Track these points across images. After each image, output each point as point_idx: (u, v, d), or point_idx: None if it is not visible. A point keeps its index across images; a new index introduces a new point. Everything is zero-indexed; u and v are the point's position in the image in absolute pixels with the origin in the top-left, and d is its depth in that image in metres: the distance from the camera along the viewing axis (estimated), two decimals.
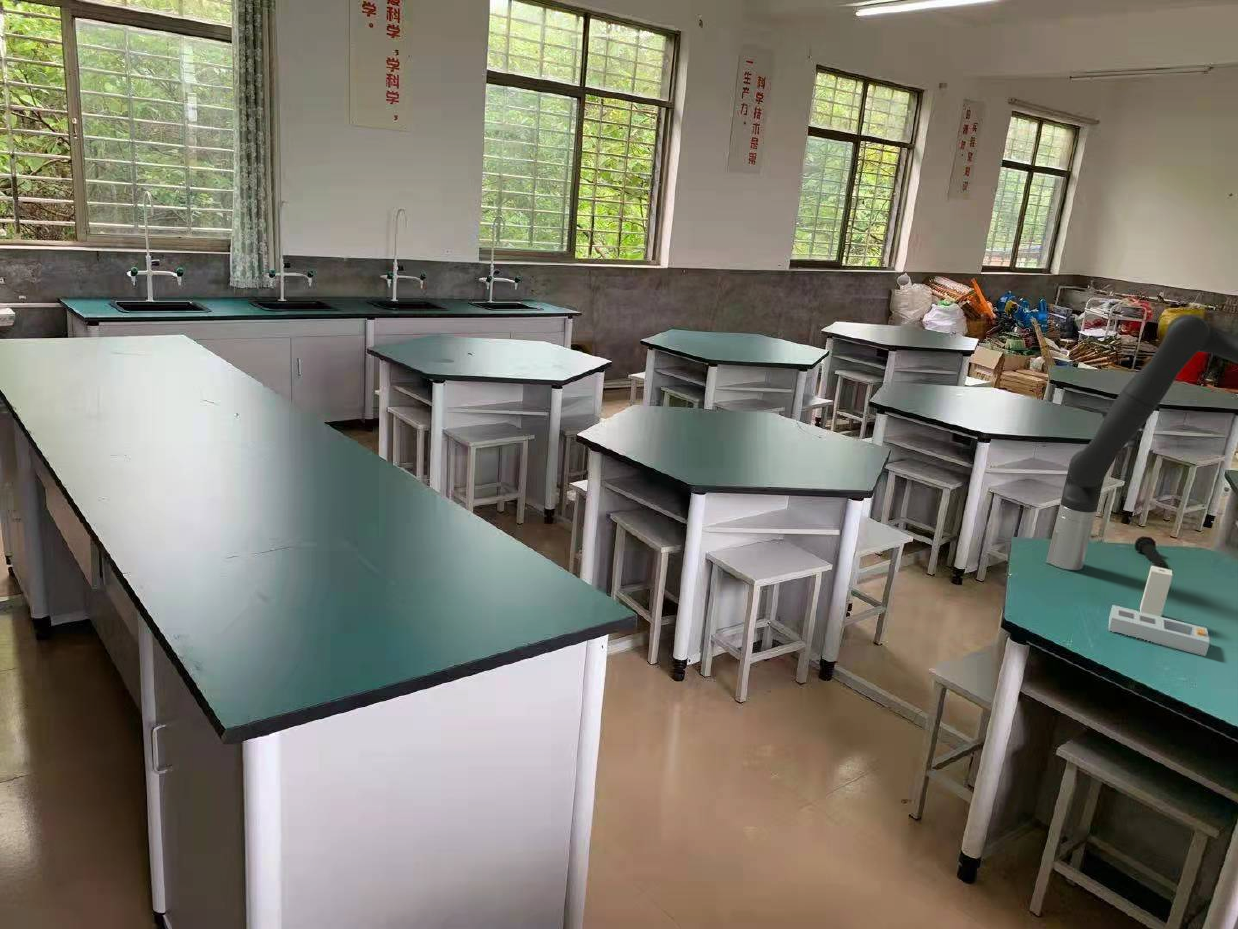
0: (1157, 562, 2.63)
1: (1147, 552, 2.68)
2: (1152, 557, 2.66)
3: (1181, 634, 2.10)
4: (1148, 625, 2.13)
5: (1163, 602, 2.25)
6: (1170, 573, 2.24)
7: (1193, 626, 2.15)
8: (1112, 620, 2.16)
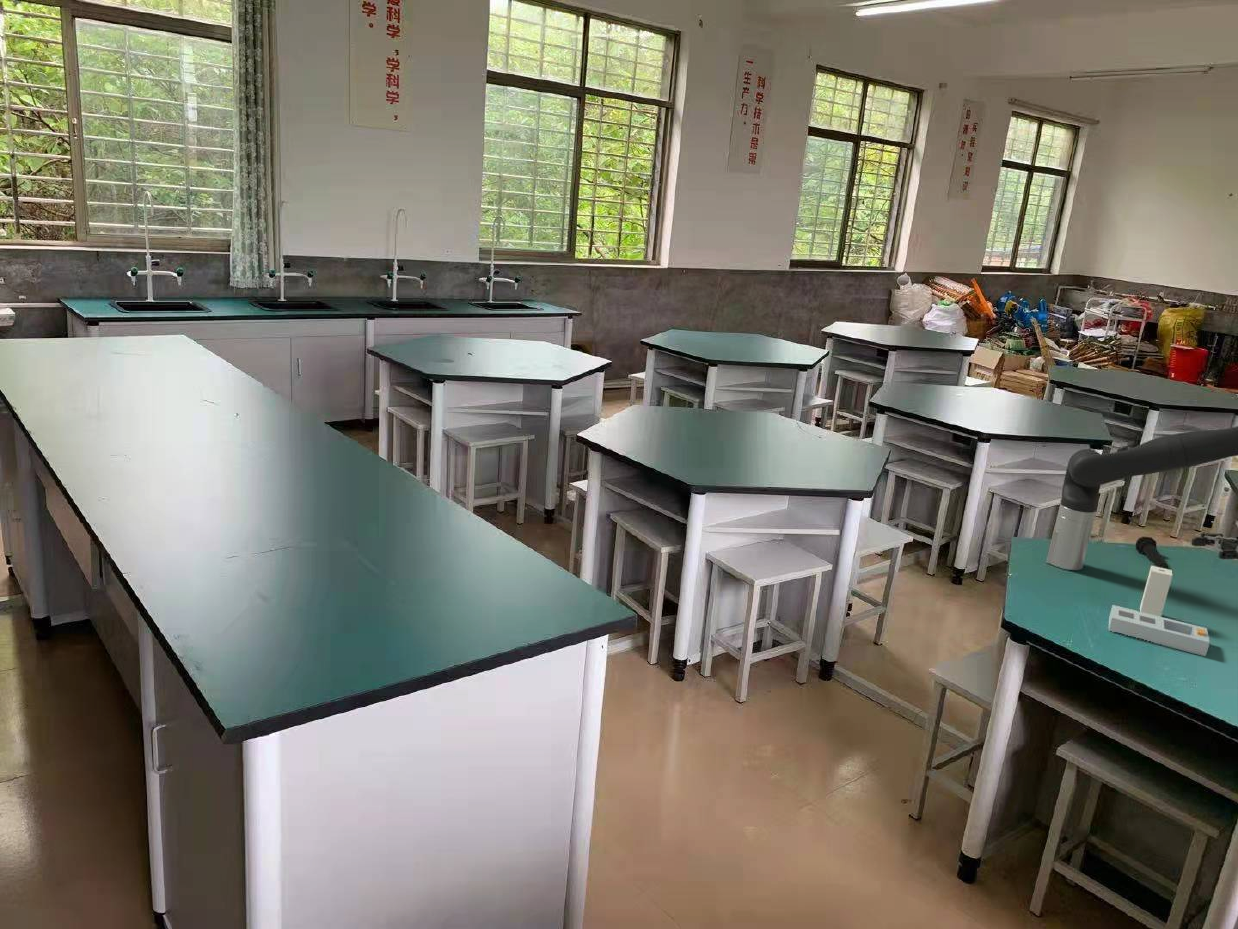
0: (1157, 562, 2.63)
1: (1148, 552, 2.68)
2: (1153, 557, 2.65)
3: (1181, 634, 2.10)
4: (1148, 625, 2.13)
5: (1163, 602, 2.25)
6: (1170, 573, 2.24)
7: (1193, 626, 2.15)
8: (1112, 620, 2.16)
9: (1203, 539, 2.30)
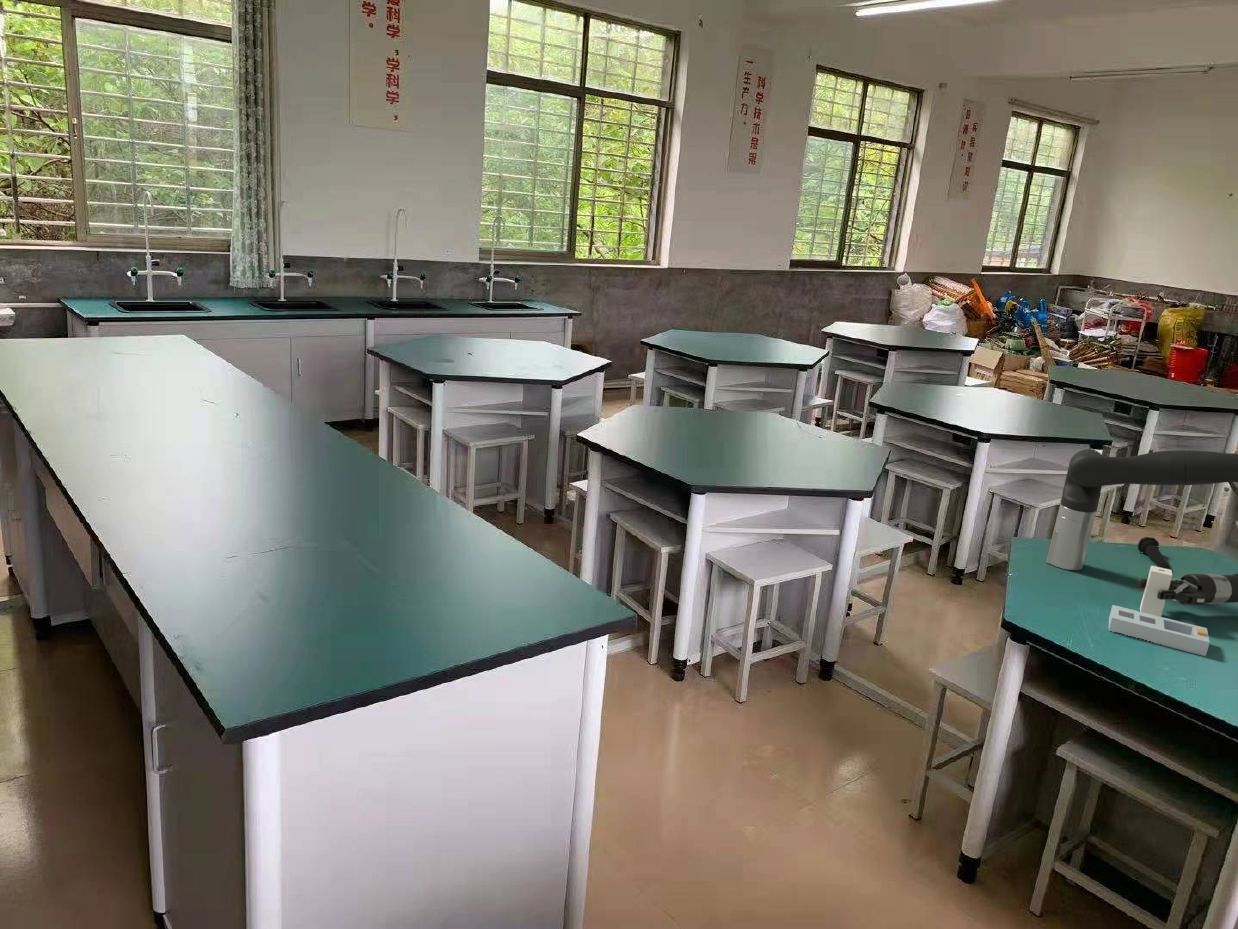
0: (1159, 563, 2.63)
1: (1149, 553, 2.68)
2: (1154, 558, 2.65)
3: (1181, 634, 2.10)
4: (1148, 625, 2.13)
5: (1163, 602, 2.25)
6: (1170, 573, 2.24)
7: (1193, 626, 2.15)
8: (1112, 620, 2.16)
9: None
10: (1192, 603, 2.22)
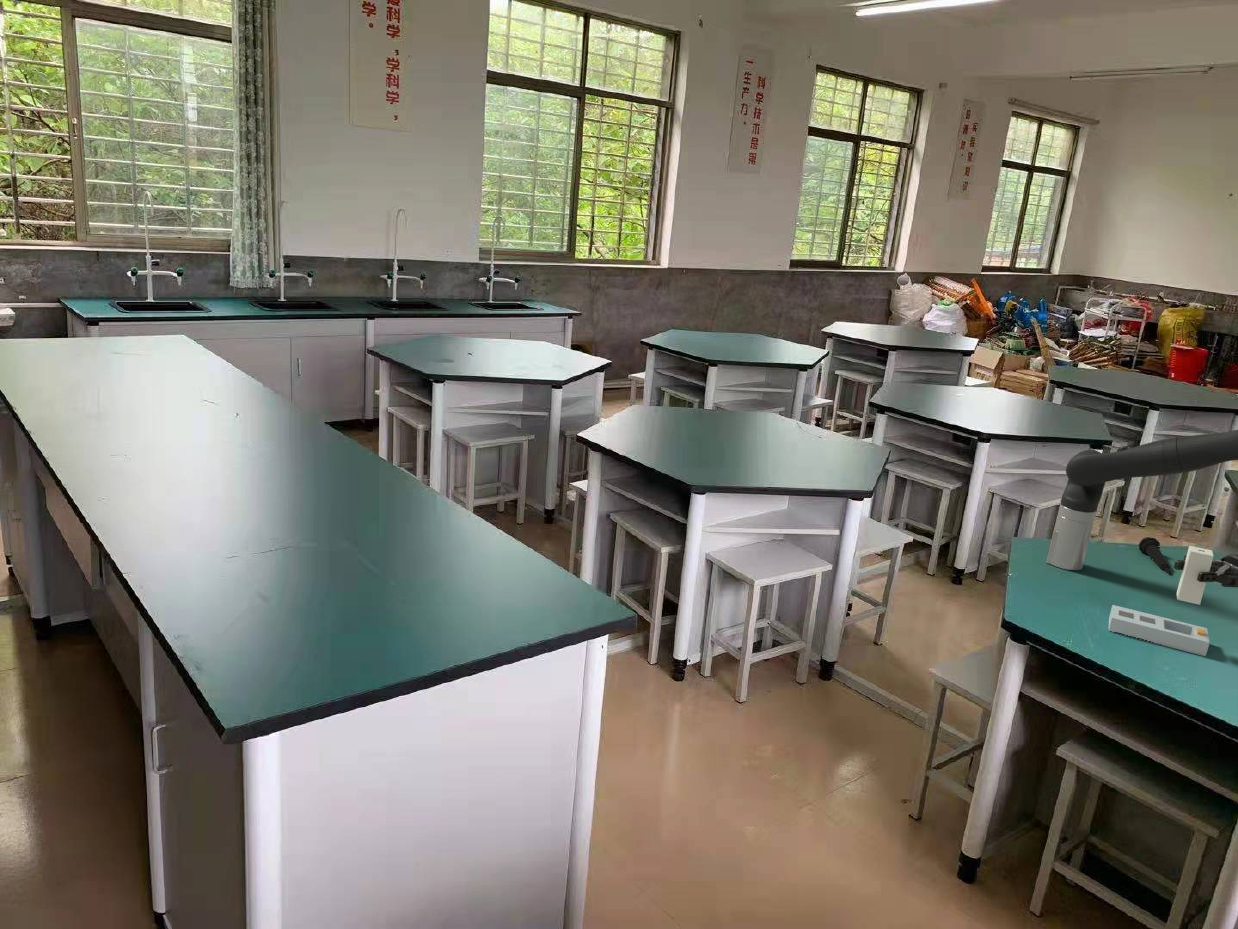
0: (1159, 563, 2.62)
1: (1150, 553, 2.68)
2: (1155, 558, 2.65)
3: (1181, 634, 2.10)
4: (1148, 625, 2.13)
5: (1203, 585, 2.08)
6: (1211, 553, 2.07)
7: (1193, 626, 2.15)
8: (1112, 620, 2.16)
9: None
10: (1235, 586, 2.05)
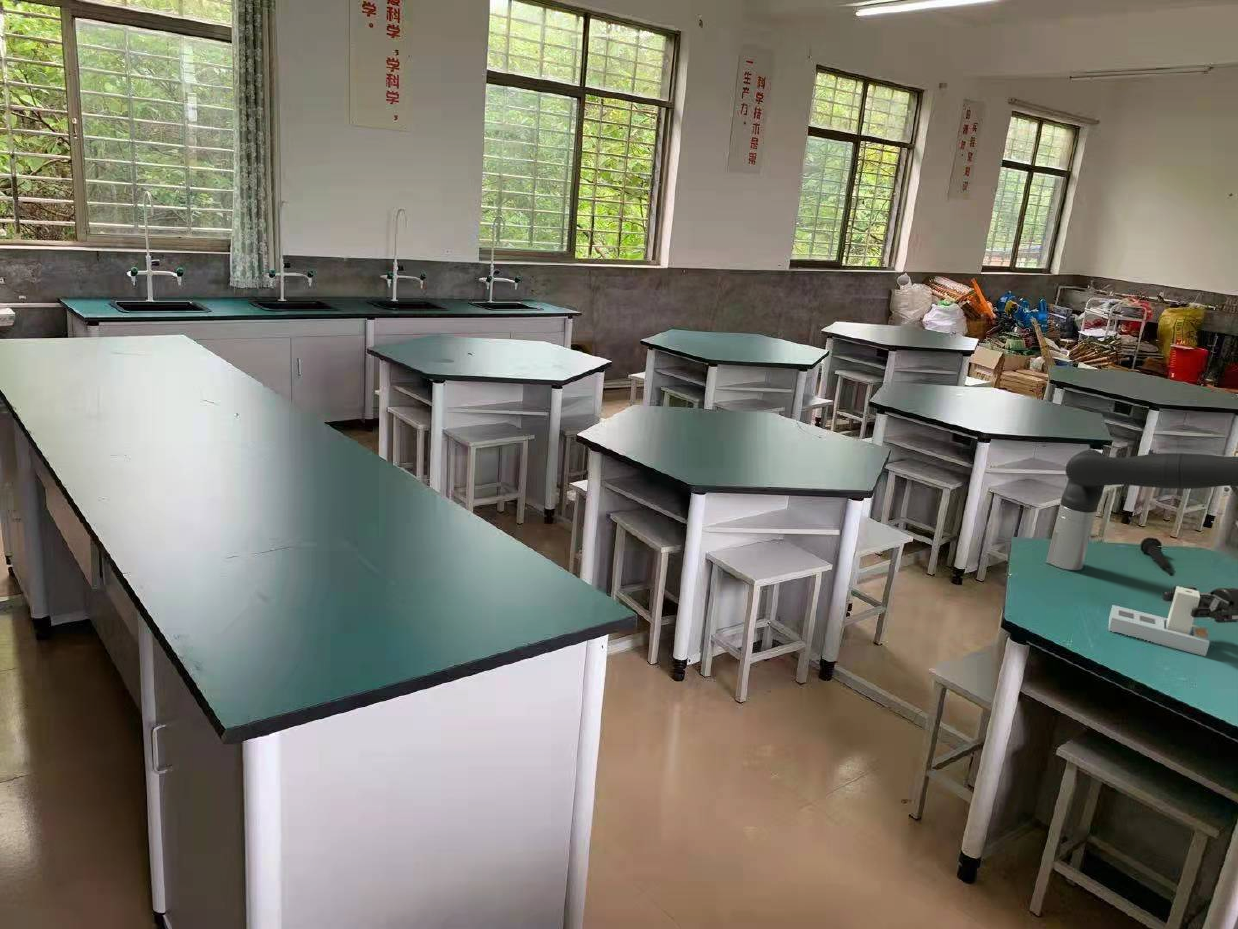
0: (1160, 563, 2.62)
1: (1152, 553, 2.68)
2: (1156, 558, 2.65)
3: (1181, 634, 2.10)
4: (1148, 625, 2.13)
5: (1190, 625, 2.11)
6: (1198, 595, 2.10)
7: (1193, 626, 2.15)
8: (1112, 620, 2.16)
9: None
10: (1228, 621, 2.07)
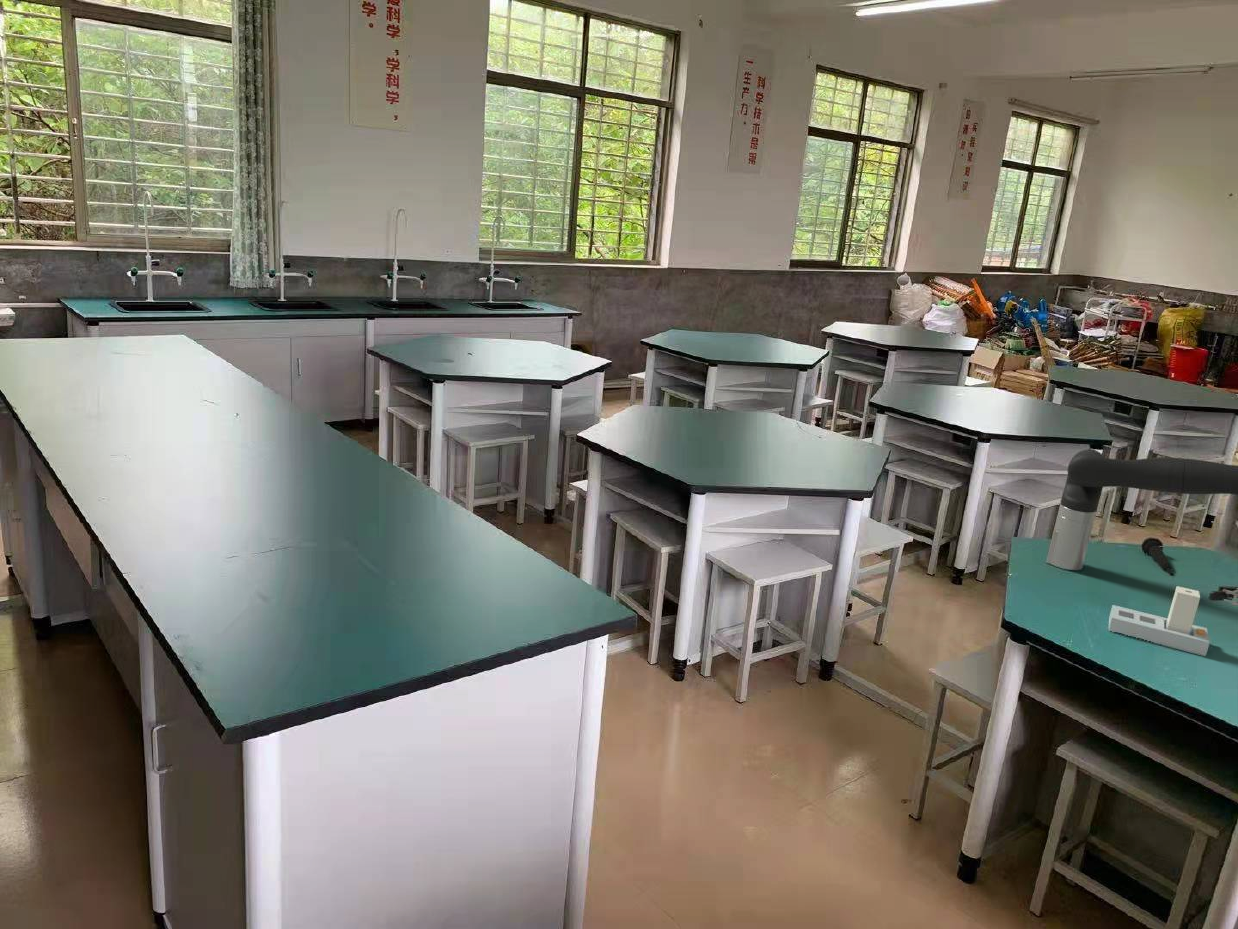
0: (1161, 563, 2.62)
1: (1153, 553, 2.68)
2: (1157, 558, 2.65)
3: (1181, 634, 2.10)
4: (1148, 625, 2.13)
5: (1190, 625, 2.11)
6: (1198, 595, 2.10)
7: (1193, 626, 2.15)
8: (1112, 620, 2.16)
9: (1221, 593, 2.18)
10: None
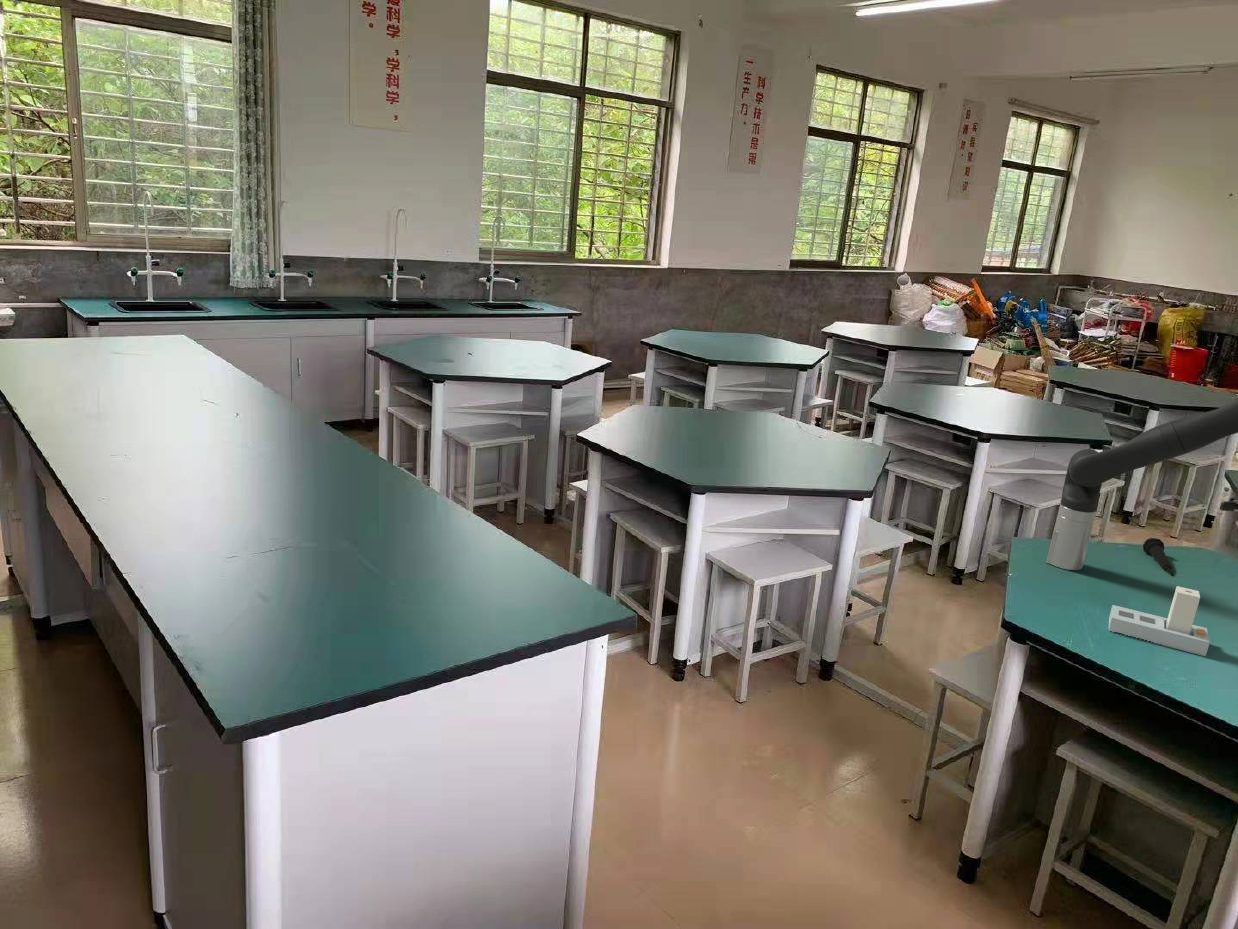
0: (1162, 563, 2.62)
1: (1154, 553, 2.68)
2: (1158, 558, 2.65)
3: (1181, 634, 2.10)
4: (1148, 625, 2.13)
5: (1190, 625, 2.11)
6: (1198, 595, 2.10)
7: (1193, 626, 2.15)
8: (1112, 620, 2.16)
9: (1232, 503, 2.20)
10: None
